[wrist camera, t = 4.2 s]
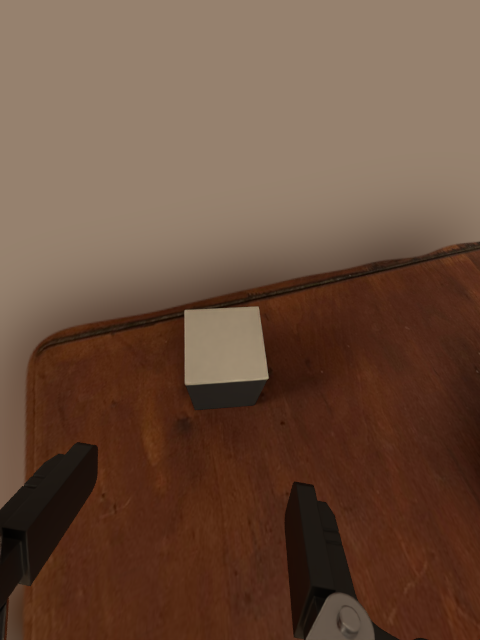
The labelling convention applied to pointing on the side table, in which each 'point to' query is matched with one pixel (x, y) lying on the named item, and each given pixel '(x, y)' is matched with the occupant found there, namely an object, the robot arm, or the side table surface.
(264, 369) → the block
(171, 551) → the side table surface
